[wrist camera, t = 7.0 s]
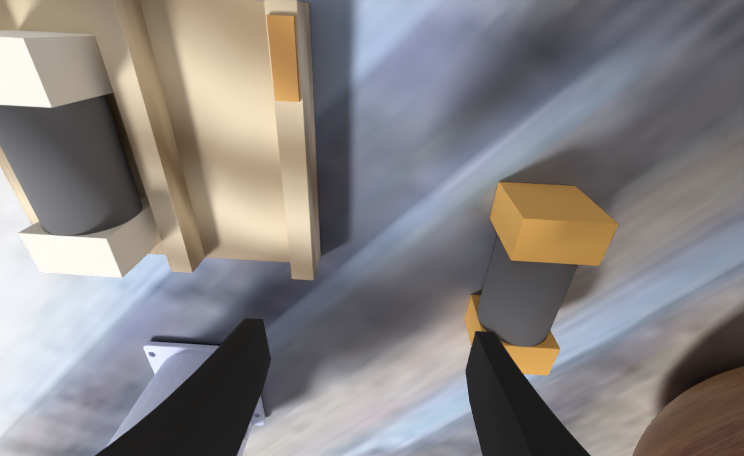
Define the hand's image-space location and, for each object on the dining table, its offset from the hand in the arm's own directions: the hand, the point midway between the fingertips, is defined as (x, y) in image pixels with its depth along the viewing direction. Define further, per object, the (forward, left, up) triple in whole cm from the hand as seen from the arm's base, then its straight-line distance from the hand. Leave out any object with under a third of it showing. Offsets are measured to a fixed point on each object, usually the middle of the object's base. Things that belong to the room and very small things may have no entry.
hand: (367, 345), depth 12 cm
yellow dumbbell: (-2, -8, -9) cm, 12 cm away
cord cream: (+4, +14, -8) cm, 17 cm away
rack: (+4, +11, -9) cm, 14 cm away
